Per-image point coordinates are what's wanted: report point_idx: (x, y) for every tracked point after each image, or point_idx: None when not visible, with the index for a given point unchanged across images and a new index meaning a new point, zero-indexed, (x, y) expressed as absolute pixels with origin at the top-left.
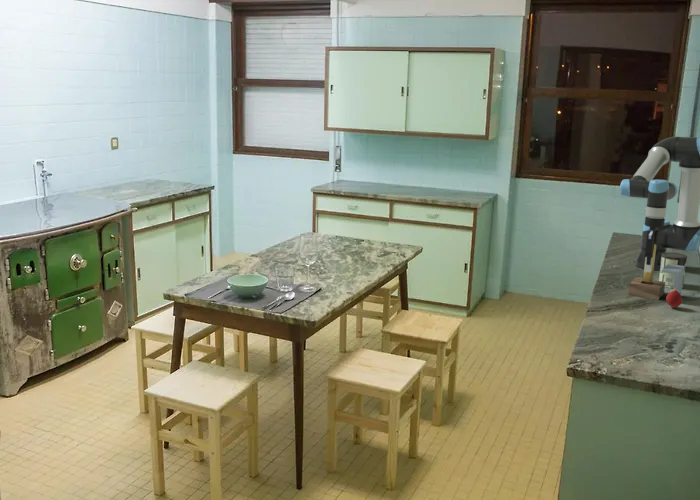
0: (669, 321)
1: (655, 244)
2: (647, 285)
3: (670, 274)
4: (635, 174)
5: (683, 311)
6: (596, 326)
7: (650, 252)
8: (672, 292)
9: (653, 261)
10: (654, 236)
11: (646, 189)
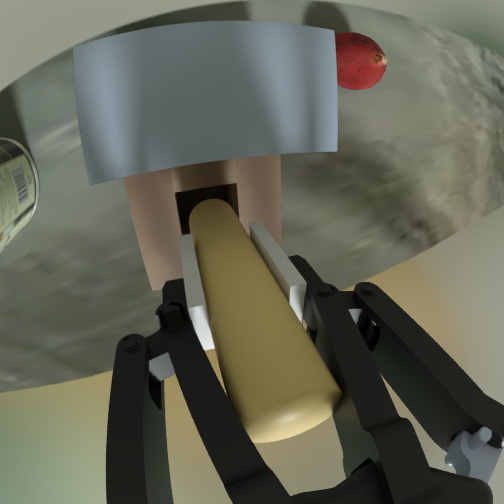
0: (438, 77)
1: (250, 416)
2: (261, 197)
3: (6, 191)
4: None
5: (347, 32)
6: (484, 203)
7: (395, 314)
8: (383, 68)
9: (254, 263)
10: (432, 474)
11: None
